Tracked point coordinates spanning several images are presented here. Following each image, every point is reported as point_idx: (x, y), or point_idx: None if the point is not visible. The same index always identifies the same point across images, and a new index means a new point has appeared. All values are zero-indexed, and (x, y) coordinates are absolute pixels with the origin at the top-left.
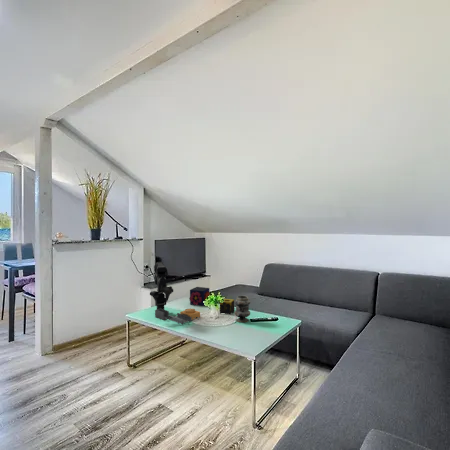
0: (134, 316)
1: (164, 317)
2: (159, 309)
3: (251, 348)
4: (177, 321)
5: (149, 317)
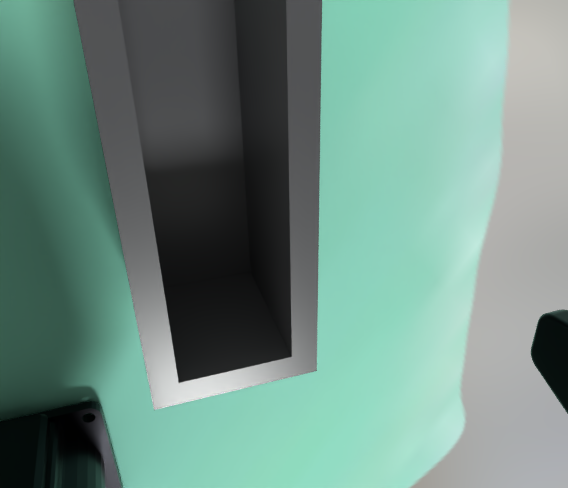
0: (430, 453)
1: (169, 75)
2: (196, 371)
3: None
4: None
5: (335, 319)
